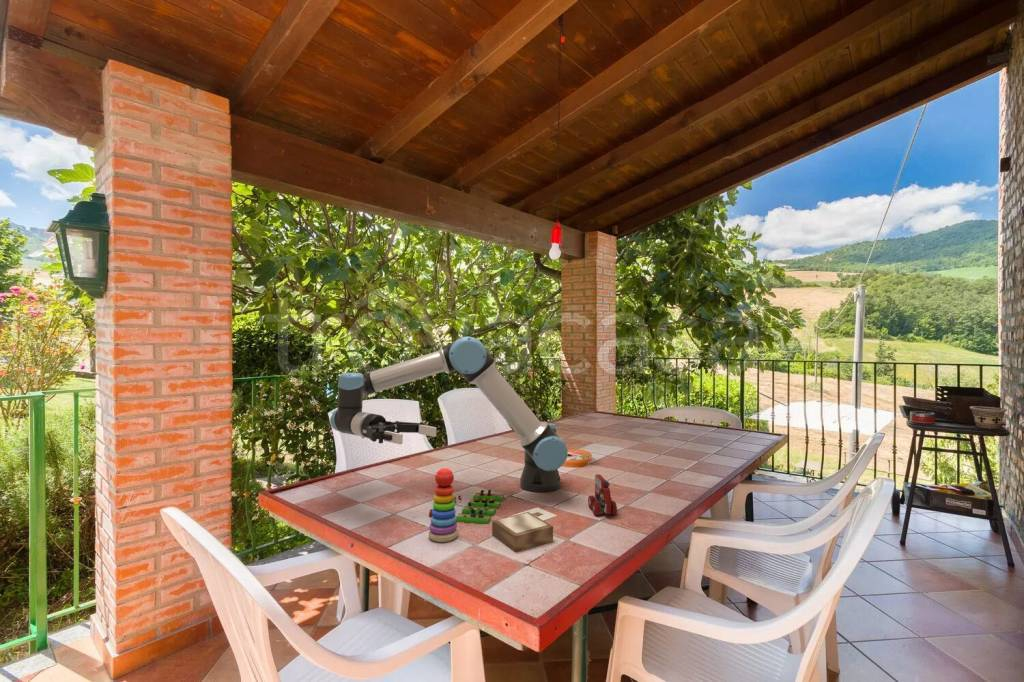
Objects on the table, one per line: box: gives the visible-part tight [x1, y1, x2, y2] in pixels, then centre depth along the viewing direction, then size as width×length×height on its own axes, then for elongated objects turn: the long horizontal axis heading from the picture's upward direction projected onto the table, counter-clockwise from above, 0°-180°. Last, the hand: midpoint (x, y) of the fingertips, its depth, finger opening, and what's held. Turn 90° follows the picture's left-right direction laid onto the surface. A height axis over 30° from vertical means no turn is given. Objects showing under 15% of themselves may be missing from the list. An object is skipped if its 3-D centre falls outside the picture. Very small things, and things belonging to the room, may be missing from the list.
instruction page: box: [507, 507, 558, 522], centre depth 142 cm, size 12×9×1 cm
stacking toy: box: [428, 467, 459, 543], centre depth 127 cm, size 8×8×19 cm
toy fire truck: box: [587, 473, 618, 516], centre depth 146 cm, size 7×12×10 cm, turn 5°
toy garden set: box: [428, 489, 506, 525], centre depth 149 cm, size 23×19×5 cm
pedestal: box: [491, 512, 554, 553], centre depth 126 cm, size 12×12×4 cm
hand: (419, 435), depth 133 cm, fingers open, 13 cm apart
